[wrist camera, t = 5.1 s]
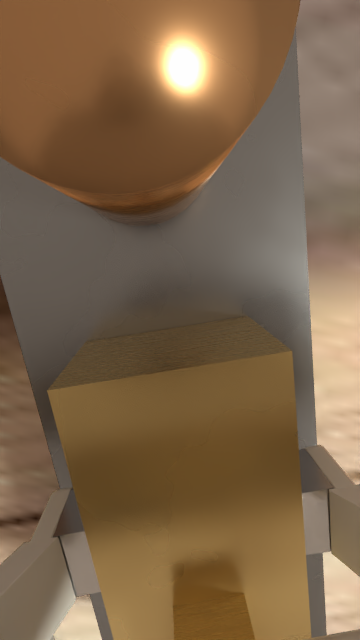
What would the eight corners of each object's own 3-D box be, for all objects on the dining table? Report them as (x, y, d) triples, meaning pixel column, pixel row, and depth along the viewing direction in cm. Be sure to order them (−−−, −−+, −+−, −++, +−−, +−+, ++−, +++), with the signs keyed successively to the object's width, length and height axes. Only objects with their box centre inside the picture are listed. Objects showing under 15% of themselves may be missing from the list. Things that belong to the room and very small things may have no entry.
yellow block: (273, 569, 11) (336, 751, 7) (142, 593, 11) (132, 792, 7) (247, 316, 9) (319, 371, 5) (85, 341, 9) (24, 419, 5)
